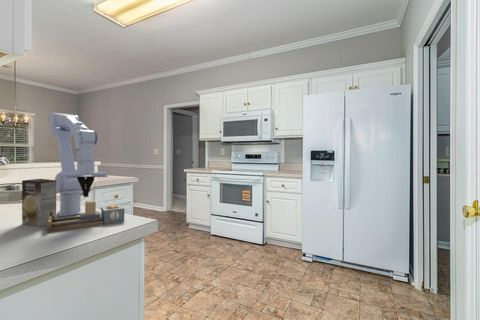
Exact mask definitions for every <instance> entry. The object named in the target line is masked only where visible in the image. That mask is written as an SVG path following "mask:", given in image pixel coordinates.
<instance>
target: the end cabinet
mask: <svg viewBox="0 0 480 320" xmlns="http://www.w3.org/2000/svg"><path fill="white" fill-rule="evenodd" d="M116 206H117V208H116V209H108V206H101V207H100V214H101V218H102V217H103V225H106V224H113V223H114V224H115V223H121V222H125V207H124V206H123V205H119V204H118V205H116Z"/></svg>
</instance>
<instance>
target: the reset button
mask: <svg viewBox="0 0 480 320" xmlns="http://www.w3.org/2000/svg"><path fill="white" fill-rule="evenodd" d="M116 208H117V205H109V206H108V209H116Z"/></svg>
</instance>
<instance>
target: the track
mask: <svg viewBox="0 0 480 320" xmlns="http://www.w3.org/2000/svg"><path fill="white" fill-rule="evenodd" d="M98 226H104V223H103V217H102V218H94V219H86V220H81V219H80V215H74V216H65V217H59V218H57V217H56V219H52V216H48V225H47V233H55V232H64V231H70V230H76V229H85V228H90V227H98Z"/></svg>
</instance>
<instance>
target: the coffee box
mask: <svg viewBox="0 0 480 320" xmlns="http://www.w3.org/2000/svg"><path fill="white" fill-rule="evenodd" d="M21 186H22V187H21V208H22V209H21V224H22V225H26V226H32V227H38V228H39V227H44V226H48V216H52V219H57V191H56V186H57V180H55V179H46V178H36V179H35V178H34V179H26V180H22V181H21Z"/></svg>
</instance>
